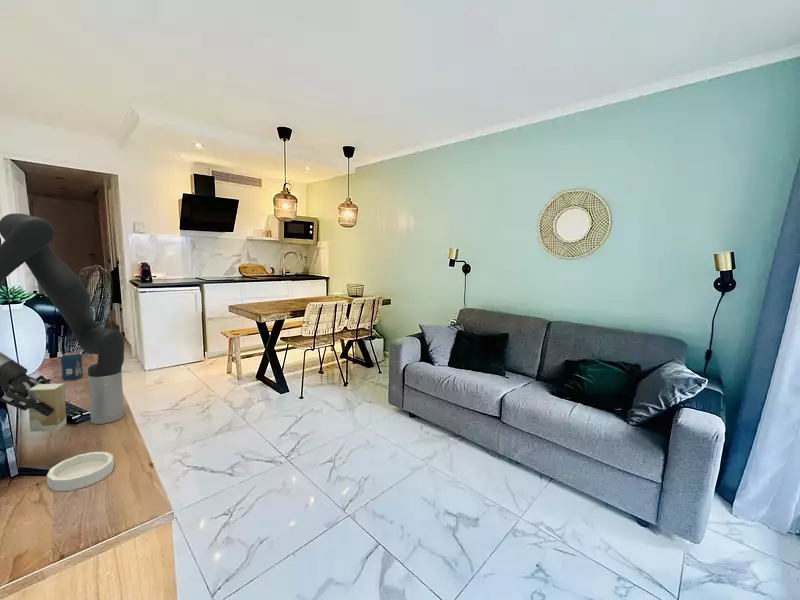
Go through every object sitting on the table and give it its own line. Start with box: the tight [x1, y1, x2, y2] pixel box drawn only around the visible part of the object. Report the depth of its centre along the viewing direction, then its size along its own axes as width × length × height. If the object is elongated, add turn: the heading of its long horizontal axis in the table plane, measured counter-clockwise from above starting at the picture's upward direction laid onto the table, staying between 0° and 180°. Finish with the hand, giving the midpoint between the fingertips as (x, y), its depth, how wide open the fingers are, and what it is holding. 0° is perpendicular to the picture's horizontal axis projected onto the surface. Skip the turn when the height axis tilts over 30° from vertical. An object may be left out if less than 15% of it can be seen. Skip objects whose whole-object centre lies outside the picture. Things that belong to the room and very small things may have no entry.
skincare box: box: [28, 383, 67, 433], centre depth 97 cm, size 6×4×12 cm
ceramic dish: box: [46, 451, 115, 492], centre depth 95 cm, size 13×13×3 cm
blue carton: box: [60, 351, 84, 382], centre depth 163 cm, size 7×7×12 cm
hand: (56, 409), depth 98 cm, fingers closed on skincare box, 4 cm apart
